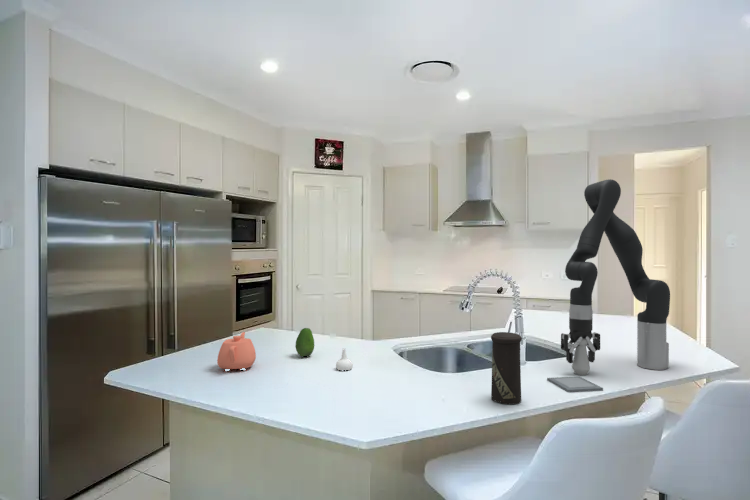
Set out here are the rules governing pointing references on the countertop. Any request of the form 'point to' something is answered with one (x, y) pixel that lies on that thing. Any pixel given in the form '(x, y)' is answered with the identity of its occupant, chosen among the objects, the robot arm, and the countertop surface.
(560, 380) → the coaster
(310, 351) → the fruit
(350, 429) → the countertop surface
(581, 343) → the grey rounded lobed piece
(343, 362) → the garlic bulb
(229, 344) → the teapot
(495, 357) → the container
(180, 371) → the countertop surface
